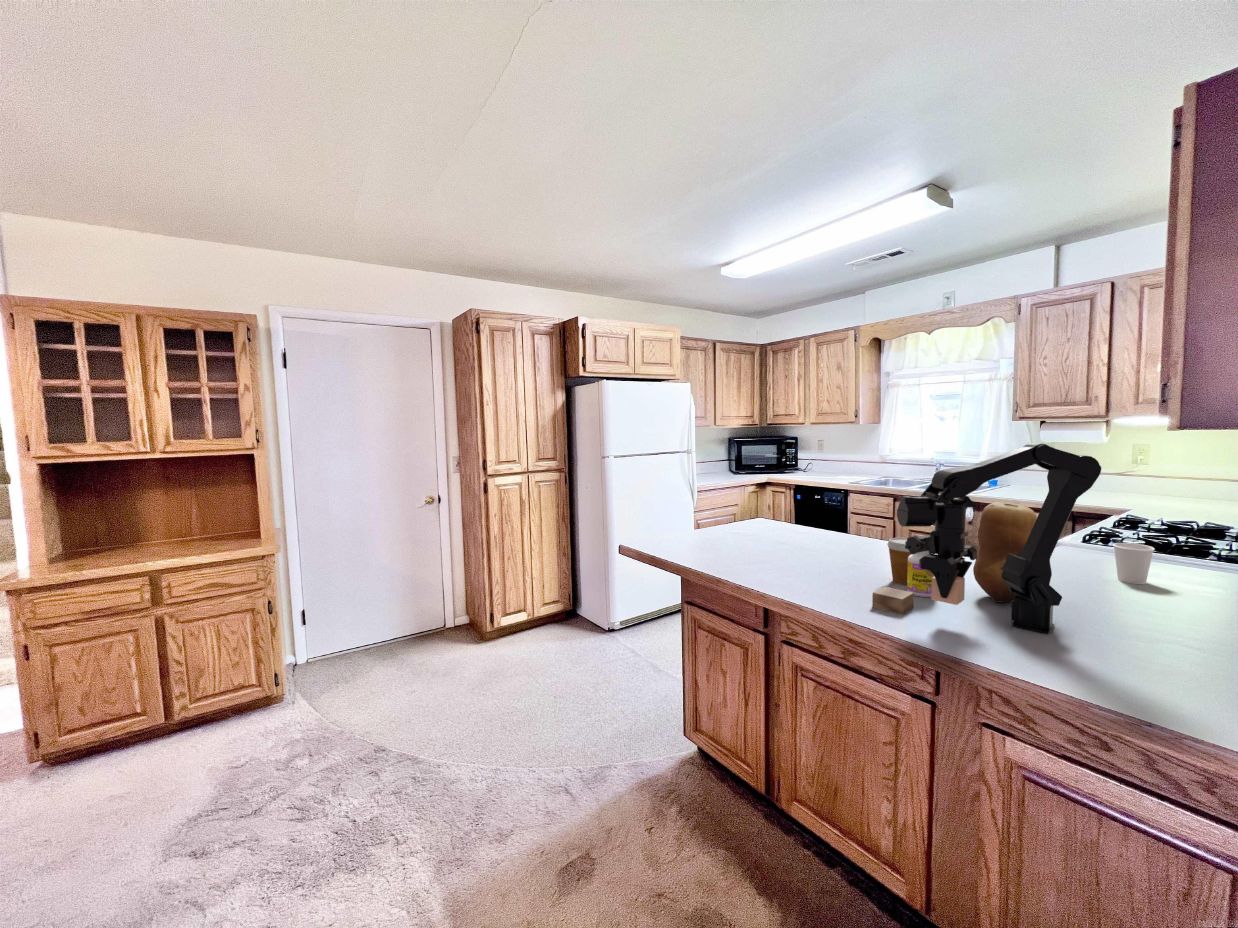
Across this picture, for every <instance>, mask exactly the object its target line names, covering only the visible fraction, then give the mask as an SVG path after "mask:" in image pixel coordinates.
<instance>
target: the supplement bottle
mask: <svg viewBox="0 0 1238 928" xmlns="http://www.w3.org/2000/svg"><path fill="white" fill-rule="evenodd" d="M928 554H930V553H929V551H924V552H918V553H916V554H912V555H910V556H909V557H908V575H907V585H906V590H907V591H908V592H912V593H914V596H915V597H923V598H932V578H933V577H935V576H934V574H933V573H931V572H930V571H929V570H925V569H921V568H919V559H921V558H922V557H924V556H925V555H928Z"/></svg>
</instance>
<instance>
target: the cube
mask: <svg viewBox="0 0 1238 928" xmlns="http://www.w3.org/2000/svg"><path fill="white" fill-rule="evenodd" d="M965 581H966V578H965V577H964V578H962V577H956V580H955V582H954V584H953V586H952V588H951V591H950V593H949V595H948V597H947V598H942V597H941V595H940V592H939V588H938V585H937V582H936V579H935V577H933V578H932V597H931V600H932V601H937V602H941V603H946V604H950V605H954V606H955V605H956V606H958V605H959V604H960V603H962V602H963V601H965V593H966V592H965V591H966V590H965V587H966V582H965Z"/></svg>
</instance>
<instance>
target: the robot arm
mask: <svg viewBox="0 0 1238 928" xmlns="http://www.w3.org/2000/svg"><path fill="white" fill-rule="evenodd" d="M1033 465H1036V466H1037V467H1039V468H1041V469H1044V470H1046V471H1048V472H1047V475H1046V476H1047V477H1046V479H1047V485H1048V493H1047V495H1046V496H1045V500H1044V502H1043V504H1042V506H1041V508H1040V510H1039V512H1038V514H1037V519H1036V521H1035V524H1034V526H1033V528H1032V530H1031V533H1030V535H1029V537H1028V539H1027V542H1026V544H1025V546H1024V548H1023V550H1022V551H1021V552H1019V553H1018V554H1017V555H1012V554H1008V555H1007V557H1006V561H1005V564H1004V565H1003V567H1002V568H1001V570H1003V572H1002V579H1003V580H1004V583H1005V584H1006V585H1007V586H1008V587H1009V589H1010V592H1011V593H1012V594H1015V595H1017V596H1016V597H1015V601H1013V602H1012V603H1011V604H1010V605H1011V609H1010V610H1011V611H1010V620H1011V626H1012V627H1016V628H1021V629H1025V630H1029V631H1034V632H1038V633H1044V634H1048V635H1049V634H1050V633H1051V632H1052V631H1053V629H1054V628H1055V623H1054V621H1053V619H1054V607H1058V606H1060V603H1061V601H1062V599H1063V596H1062V595H1061V594H1060V593H1059V592H1058V591H1057V590H1056V589H1055V588H1054V587H1053V586H1051V585H1050V584H1051V579H1052V576H1053V573H1052V565H1051V558H1052V556H1053V553H1054V551H1055V548H1056V547H1057V544H1058V542H1059V539H1060V537H1061V535H1062V533H1063V531H1064V529H1065V526H1066V524H1067V522H1068V520H1069V518H1070V515H1071V512H1073V509H1074V506H1075V505H1076V502H1077V500H1078V498H1079V497H1081V496H1082V495H1083V494H1085V493H1086V492H1088V490H1090V489H1091V488H1092V487H1094V484H1095V482H1096V481H1097V480H1098V479H1099V477H1100V475H1101V472H1102V466H1101V465H1100V463H1099V460H1098V459H1096V458H1095V457H1092V456H1090V455H1084V454H1075V453H1071V452H1068V451H1065V450H1061V449H1058V448H1055V447H1052V446H1049V445H1047V444H1046V443H1035V442H1034V443H1033V442H1032V443H1031V442H1030V443H1027V444H1025V445H1023V446H1022V447H1019V448H1016V449H1014V450H1010V451H1008V452H1007V451H1006V452H1004V453H1003V454H1002V453H1001V454H999V455H997V456H994V457H991V458H988V459H986V460H983V461H980V462H977V463H975V464H971V465H964V466H958V467H957V466H956V467H951V468H946V469H941V470H938V471H936V472H935V473H934V474H933V476H932V479H931V483H929V485H928V486H927V487H926V489H924V490H923V492H922V493H921V495H920V496H908V495H903V496H901V501H899V503H898V506H897V509H896V518H897V522H898V523H899V525H900V526H901V527H903V528H905V527H914V528H916V527H917V528H918V527H919V528H920V527H923V528H924V527H925V528H926V527H927V528H928V527H932V525H933V524H934V529H933V530H931V531H930V532H929V535H924V536H920V537H919V536H918V535H913V536H908V537H907V541H906V542H905V544H906V545H905V548H906V549H908V550H909V552H910V554H911V555H912V554H916V553H918V552H924V551H929V553H930V554H928V555H925V556H924V557H922V558H921V559H919V568H921V569H925V570H929V571H930V572H931V573H933V574H934V576H935V579H936V582H937V585H938V588H939V592H940V595H941V597H942V598H947V597H948V595H949V593H950V591H951V588H952V586H953V584H954V582H955V580H956V577H962V578H965V576H966V574H967V573H968V571H969V568H970V567H971V566H972V565H973V561H976V559H977V555H978V550H977V549H976V548H975V547H974V546H973V545H968V544H967V545H966V544H965V543H966V537H968V535H969V531H968V530H966V508H976V507H978V504H977V503H975V502H974V501H973V500H972V499H971V498H970V496H968V495H970V494H972V493H973V492H975V491H977V490H978V489H979V488H981V486H983V485H984V484H986V483H987V482H989V481H992V480H995V479H997V478H1000V477H1003V476H1006V475H1008V474H1011V473H1015V472H1017V471H1019V470H1020V471H1021V470H1023V469H1026V468H1028V467H1031V466H1033ZM966 558H969V559H970V561H968V560H966Z"/></svg>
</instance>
